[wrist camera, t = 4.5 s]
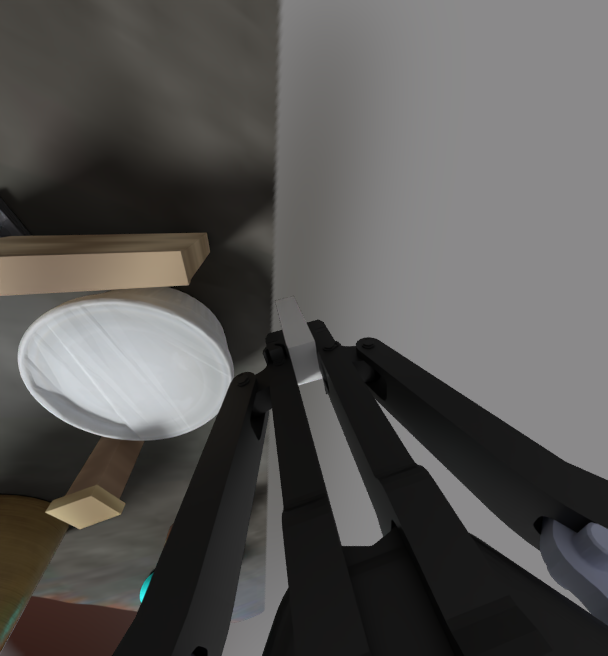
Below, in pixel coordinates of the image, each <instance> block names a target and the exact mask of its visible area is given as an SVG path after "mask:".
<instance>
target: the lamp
mask: <svg viewBox="0 0 608 656" xmlns="http://www.w3.org/2000/svg"><path fill="white" fill-rule="evenodd" d="M50 504H51V503H50V502H47V501H44V500H41V499H37V498H32V497H26V496H18V495H0V653H1V651H2V649H3V647H4V646H5V644H6V642H7V639H8V638H9V636H10V635H11V633H12V631H13V629H14V627H15V625H16V624H17V622H18V620H19V618H20V616H21V614H22V613H23V611H24V609H25V607H26V605H27V603H28V602H29V599H30V598H31V596H32V594H33V592H34V591H35V589H36V587H37V585H38V583H39V581H40V580H41V578H42V576H43V574H44V572H45V570H46V569H47V567H48V565H49V563H50V561H51V559H52V558H53V556H54V554H55V552H56V550H57V548H58V547H59V545H60V543H61V541H62V539H63V537H64V536H65V534H66V532H67V530H68V528H69V525H70V524H68V523H66V522H64V521H62V520H60V519H58V518H56V517H54V516H52V515H50V514H47V513H45V512H46V510H47V508H48V507H49V505H50Z"/></svg>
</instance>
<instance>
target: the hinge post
mask: <svg viewBox="0 0 608 656" xmlns="http://www.w3.org/2000/svg"><path fill="white" fill-rule="evenodd" d="M9 236H32V235H31V233H30V232H29V231H28V230H27V229H26V227H25V226H24V225H23V224H22V223H21V222H20V220H19V219H18V218H17V217H16V216H15V214H14V213H13V212H12V211H11V210H10V208H9V207H8V206H7V205H6V204H5V202H4V201H3V200H2V199H1V198H0V238H2V237H9Z"/></svg>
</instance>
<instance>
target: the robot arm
mask: <svg viewBox="0 0 608 656" xmlns="http://www.w3.org/2000/svg"><path fill="white" fill-rule="evenodd" d="M275 303H276V307H277V311H278V315H279V319H280V322H281V326H282V330H280V331H276V332H273V333H269V334H268V335H267V337H266V346H267V347H266V348H265V349H264V350H263V355H264V358H265V361H266V363H267V367H266V368H265V369H264V370H263V371H261V372H260V373H258V374H256V375H254V373H251V372H244V373H241V374H239V375H237V376H236V377H235V378H233V380H232V381H231V383H230V385H229V388H228V390H227V393H226V395H225V398H224V400H223V403H222V405H221V408H220V410H219V413H218V415H217V417H216V420H215V422H214V425H213V427H212V430H211V432H210V435H209V437H208V440H207V442H206V445H205V447H204V450H203V452H202V454H201V457H200V459H199V462H198V464H197V467H196V469H195V472H194V474H193V477H192V479H191V482H190V484H189V487H188V489H187V492H186V494H185V496H184V499H183V501H182V504H181V506H180V509H179V511H178V514H177V516H176V519H175V521H174V524H173V526H172V529H171V531H170V533H169V536H168V538H167V541H166V543H165V546H164V548H163V551H162V553H161V556H160V558H159V561H158V563H157V566H156V568H155V570H154V573H153V575H152V578H151V580H150V583H149V585H148V588H147V590H146V593H145V595H144V598H143V600H142V603H141V605H140V607H139V610H138V612H137V615H136V617H135V619H134V621H133V622H132V624H131V626H130V627H129V629H128V630H127V632H126V634H125V636H124V637H123V639H122V640H121V642H120V644H119V645H118V647H117V649H116V650H115V652H114V653H113V655H112V656H221V655H222V652H223V648H224V645H225V641H226V637H227V634H228V630H229V625H230V621H231V616H232V612H233V607H234V602H235V596H236V591H237V586H238V580H239V575H240V569H241V564H242V558H243V553H244V547H245V542H246V536H247V531H248V525H249V520H250V515H251V509H252V504H253V498H254V493H255V487H256V482H257V476H258V471H259V465H260V460H261V454H262V449H263V444H264V438H265V433H266V427H267V422H268V416H269V410H270V409H272V411H273V420H274V428H275V437H276V445H277V454H278V462H279V471H280V480H281V488H282V497H283V505H284V510H283V513H282V529H283V539H284V547H285V557H286V566H287V576H288V585H289V588H288V589H287V591H286V593H285V595H284V596H283V599H282V601H281V603H280V605H279V607H278V610H277V613H276V616H275V619H274V621H273V625H272V627H271V631H270V633H269V636H268V639H267V642H266V645H265V648H264V651H263V654H262V656H608V480H606V479H604V478H601V477H599V476H596V475H594V474H592V473H590V472H588V471H585V470H583V469H581V468H579V467H576V466H574V465H572V464H569V463H567V462H565V461H564V460H562V459H560V458H559V457H557V456H556V455H554V454H553V453H551V452H550V451H548V450H547V449H545V448H544V447H542V446H541V445H539V444H538V443H536V442H534V441H533V440H531V439H530V438H528V437H527V436H525V435H524V434H522V433H521V432H519V431H518V430H516V429H514V428H513V427H511V426H510V425H508V424H507V423H505V422H504V421H502V420H501V419H499V418H498V417H496V416H495V415H493V414H491V413H490V412H488V411H487V410H485V409H483V408H482V407H481V406H479V405H478V404H476V403H474V402H473V401H471V400H470V399H468V398H467V397H465V396H464V395H462V394H461V393H459V392H458V391H456V390H454V389H453V388H451V387H450V386H448V385H447V384H445V383H444V382H442V381H441V380H439V379H437V378H436V377H434V376H433V375H431V374H430V373H428V372H427V371H425V370H424V369H422V368H421V367H419V366H418V365H416V364H414V363H413V362H411V361H410V360H408V359H407V358H405V357H404V356H402V355H401V354H399V353H398V352H396V351H394V350H393V349H392V348H390V347H388V346H387V345H385V344H384V343H382V342H381V341H379V340H377V339H375V338H363V339H360V340H359V341H357V343H356V346H350V347H349V346H341V344H340V343H339V342H337V341H335V340H334V339H333V337H332V336H331V334H330V332H329V331H328V329H327V328H326V325H325V324H324V322H322V321H320V320H315V321H311V322H307V323H306V321H305V319H304V317H303V315H302V313H301V310H300V308H299V306H298V304H297V302H296V300H295V298H294V296H291V297H287V298H283V299H280V300H275ZM321 374H322V375H321ZM322 377H323V381H324V386H325V391H326V394H328V395H329V397H330V400H331V403H332V405H333V408H334V410H335V413H336V415H337V418H338V420H339V422H340V425H341V427H342V430H343V432H344V435H345V437H346V440H347V442H348V445H349V447H350V450H351V452H352V455H353V457H354V460H355V462H356V465H357V467H358V470H359V472H360V474H361V477H362V480H363V482H364V485H365V487H366V489H367V492H368V494H369V497H370V499H371V502H372V504H373V507H374V509H375V512H376V514H377V518H378V521H379V525H380V528H381V531H382V534H383V538H381V539H380V540H379V541H378V542H377V543H375V544H374V545H372V546H342V545H341V542H340V538H339V534H338V531H337V527H336V523H335V520H334V516H333V512H332V508H331V505H330V501H329V497H328V494H327V490H326V487H325V483H324V480H323V475H322V471H321V468H320V464H319V461H318V457H317V453H316V449H315V446H314V442H313V438H312V435H311V431H310V428H309V424H308V420H307V416H306V413H305V409H304V405H303V401H302V398H301V394H300V390H299V387H298V385H301V384H305V383H308V382H311V381H315V380H318V379H321V378H322ZM375 399H376V400H377V401H378V402H379V403H380V404H381V405H382V406H383V407H384V408H385V409H386V410H387V411H388V412H389V413H390V414H391V415H392V416H393V417H394V418H395V419H396V420H397V421H399V422H400V423H401V424H402V425H403V426H404V427H405V428H406V429H407V430H408V431H409V432H410V433H411V434H412V435H413V436H414V437H415V438H416V439H417V440H418V441H419V442H420V443H421V444H422V445H423V446H424V447H425V448H426V449H427V450H429V451H430V452H431V453H432V454H433V455H434V456H435V457H436V458H437V459H438V460H439V461H440V462H441V463H442V464H443V465H444V466H445V467H446V468H447V469H448V470H449V471H450V472H451V473H452V474H453V475H454V476H455V477H456V478H457V479H458V480H459V481H460V482H462V483H463V484H464V485H465V486H466V487H467V488H468V489H469V490H470V491H471V492H472V493H473V494H474V495H475V496H476V497H477V498H478V499H479V500H480V501H481V502H482V503H483V504H484V505H485V506H486V507H488V509H489V510H491V511H492V512H493V513H494V514H495V515H496V516H497V517H498V518H499V519H500V520H501V521H503V522H504V523H505V524H506V525H507V526H508V527H509V528H511V529H512V530H513V531H515V532H516V533H517V534H518V535H519V536H521V537H522V538H523V539H524V540H526V541H527V542H528V543H530V544H531V545H532V546H534V547H535V548H537V549H538V550H540V552H541V555H542V557H543V560H544V562H545V563H546V565H547V569H548V571H549V573H550V575H551V577H552V578H553V579H554V580H555V581H556V582H557V583H558V584H559V585H561V586H562V587H563V588H565V589H567V590H569V591H570V592H571V593H573V594H574V595H575V596H576V597H577V598H578V599H579V600H580V601H581V602H582V603H583V605H584V606H585V607H586V608H587V609H588V610H589V612H590V613H591V614H592V615H591V614H590V613H588V612H587V611H585V610H584V609H583V608H581V607H580V606H578V605H577V604H575V603H574V602H572V601H571V600H569V599H568V598H566V597H565V596H563V595H562V594H560V593H559V592H557V591H556V590H554V589H553V588H551V587H550V586H548V585H547V584H545V583H544V582H543V581H541V580H540V579H538V578H537V577H535V576H533V575H532V574H531V573H529V572H527V571H526V570H525V569H523V568H522V567H520V566H519V565H517V564H516V563H514V562H513V561H511V560H510V559H508V558H507V557H505V556H504V555H502V554H501V553H499V552H498V551H497V550H495V549H494V548H492V547H491V546H489V545H488V544H486V543H485V542H483V541H482V540H480V539H479V538H477V537H476V536H474V535H472V534H470V533H468V531H467V530H466V528H465V527H464V525H463V524H462V522H461V521H460V519H459V518H458V516H457V514H456V513H455V511H454V510H453V508H452V507H451V505H450V504H449V502H448V501H447V499H446V498H445V496H444V495H443V493H442V492H441V490H440V489H439V487H438V485H437V484H436V482H435V481H434V479H433V478H432V477H431V475H430V474H429V472H428V471H427V470H426V469H425V468H424V467H423V466H421V465H417V464H416V463H415V462H414V460H413V459H412V458H411V456H410V455H409V453H408V451H407V450H406V448H405V447H404V445H403V443H402V442H401V440H400V438H399V437H398V435H397V434H396V432H395V431H394V429H393V427H392V426H391V424H390V422H389V421H388V419H387V418H386V416H385V414H384V413H383V411H382V410H381V408H380V406H379V405H378V403H377V402H376V400H375Z"/></svg>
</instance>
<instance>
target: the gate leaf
mask: <svg viewBox="0 0 608 656" xmlns="http://www.w3.org/2000/svg"><path fill="white" fill-rule="evenodd" d="M209 253H210V248H209V242H208V237H207V233H161V234H105V235H49V236H9V237H2V238H0V296H6V295H24V294H42V293H60V292H77V291H95V290H113V289H130V288H148V287H166V286H183V285H189V284H190V283H191V281H190V280H191V278H192V277H193V276H194V274H195V273H196V271H197V270H198V269H199V267H200V266H201V264H202V263H203V262H204V260H205V259H206V257H207V256H208V255H209Z"/></svg>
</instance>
